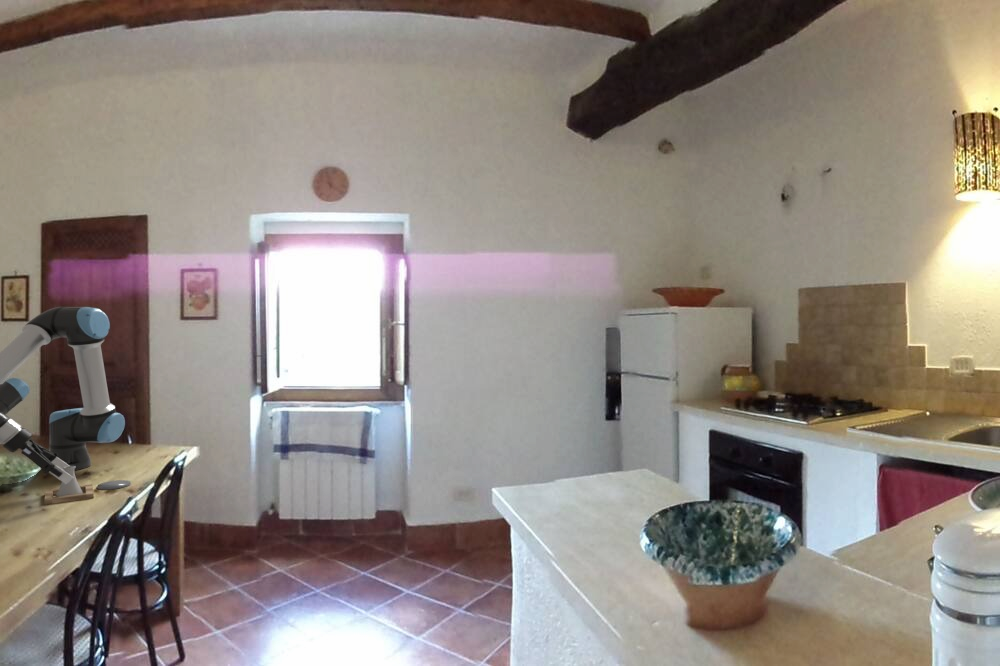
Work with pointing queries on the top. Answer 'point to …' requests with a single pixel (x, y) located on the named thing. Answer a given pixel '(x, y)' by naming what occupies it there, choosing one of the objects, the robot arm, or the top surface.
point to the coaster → (113, 485)
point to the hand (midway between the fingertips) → (70, 476)
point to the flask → (69, 484)
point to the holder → (51, 500)
